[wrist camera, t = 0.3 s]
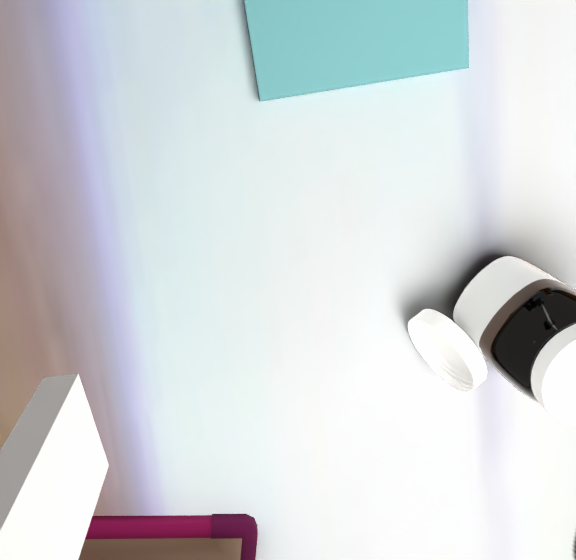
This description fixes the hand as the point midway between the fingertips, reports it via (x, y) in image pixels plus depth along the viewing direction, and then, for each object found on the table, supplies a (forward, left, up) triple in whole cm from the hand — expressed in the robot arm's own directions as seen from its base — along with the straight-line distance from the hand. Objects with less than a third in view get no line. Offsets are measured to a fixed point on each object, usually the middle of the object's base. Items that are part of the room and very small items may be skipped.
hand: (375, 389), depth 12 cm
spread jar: (+13, +15, -27) cm, 34 cm away
